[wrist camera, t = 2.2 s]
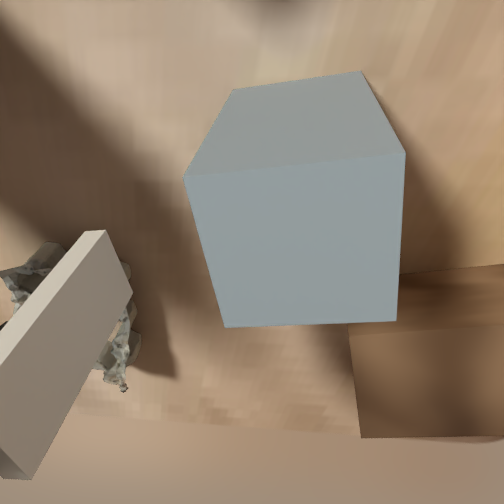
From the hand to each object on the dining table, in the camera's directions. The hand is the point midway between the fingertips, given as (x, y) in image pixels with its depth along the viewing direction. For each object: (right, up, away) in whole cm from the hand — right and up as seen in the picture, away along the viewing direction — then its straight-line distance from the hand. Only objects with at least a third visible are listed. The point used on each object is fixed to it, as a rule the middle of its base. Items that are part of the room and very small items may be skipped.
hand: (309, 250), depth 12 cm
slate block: (+1, +6, +8) cm, 10 cm away
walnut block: (+10, -5, +15) cm, 19 cm away
